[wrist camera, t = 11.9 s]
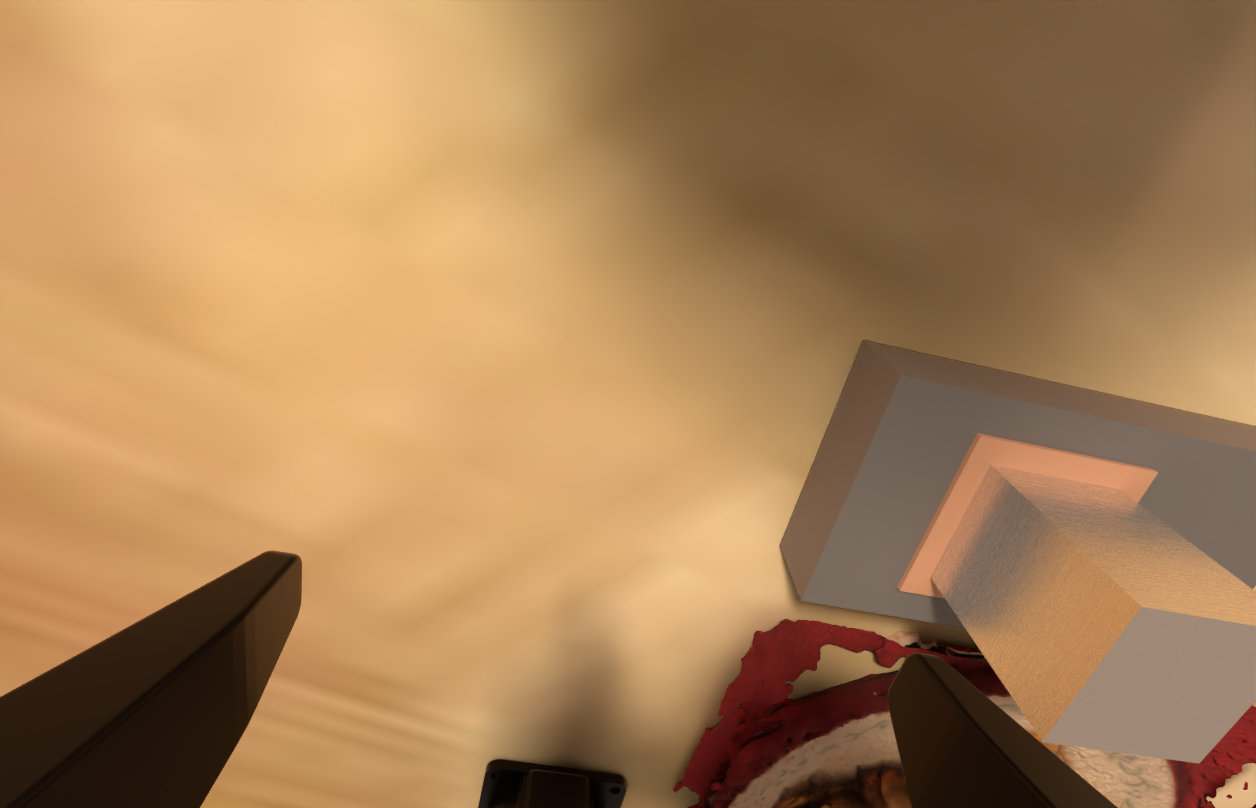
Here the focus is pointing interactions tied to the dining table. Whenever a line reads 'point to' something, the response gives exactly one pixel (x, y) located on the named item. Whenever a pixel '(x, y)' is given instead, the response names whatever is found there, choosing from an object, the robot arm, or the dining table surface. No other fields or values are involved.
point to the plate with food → (892, 735)
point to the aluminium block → (1101, 617)
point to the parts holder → (960, 456)
